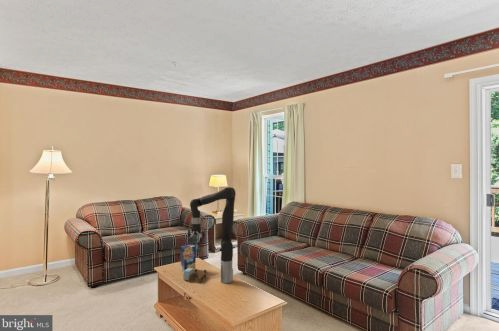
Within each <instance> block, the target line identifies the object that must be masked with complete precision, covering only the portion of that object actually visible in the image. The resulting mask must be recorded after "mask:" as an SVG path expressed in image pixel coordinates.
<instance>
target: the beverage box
mask: <svg viewBox="0 0 499 331" xmlns="http://www.w3.org/2000/svg"><path fill="white" fill-rule="evenodd" d="M196 250H197V248H196V245H194V244H187V245H182V246H180V272H181V273H183V274H184V270H186V269H187V268H194V272H195V269H196V259H197V258H196V253H197V252H196Z"/></svg>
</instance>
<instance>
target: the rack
mask: <svg viewBox="0 0 499 331" xmlns="http://www.w3.org/2000/svg"><path fill="white" fill-rule="evenodd" d="M196 276H198V268H195V271H194V273H193V274H192V275H191V276H189V280H188V283H191V282H192V281H194V280H195V279H194V278H195V277H196ZM206 278H207V269H204V270H203V273H202V274H201V275H200V276H198V277H197V284H201V282H203V281H204V280H205V279H206ZM193 279H194V280H193Z"/></svg>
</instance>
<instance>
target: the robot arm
mask: <svg viewBox="0 0 499 331" xmlns="http://www.w3.org/2000/svg"><path fill="white" fill-rule="evenodd" d="M221 200H225V205H224V209H223V212H222V215H221V228H222V230H221V232H222V234H221V242H220V248H221V249H220V251H221V252H220V254H221V255H220V283H221V284H231V283H233V281H234V268H233V257H234V254H233V253H234V246H233V242H232V231H233V227H234V220H235V219H234V216H235V215H234V214H235V200H236V190H235V188H233V187H231V186H229V187H225V188H223V189H221V190H219V191H216V192H214V193H210V194H207V195H204V196H202V197H198V198H194V199H191V200H190V203H189V207H190V212H191V228H189V229H188V230H187V237H189V241H190V243H193V240H194V239H193V238H194V237H193V236H199V237H200V238H199V241H200V243H203V238H205V237H206V234H205V229H202V226H201V225H202V224H201V222H202V221H201V210H199V208H200V207H202V206H206V205H209V204H212V203H214V202H217V201H221Z"/></svg>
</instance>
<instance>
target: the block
mask: <svg viewBox="0 0 499 331" xmlns="http://www.w3.org/2000/svg"><path fill="white" fill-rule="evenodd" d="M194 272H195V271H194V268H187V269H186V270H184V273H183V278H184V279H183V281H189V276H191V275H192V274H193V273H194Z"/></svg>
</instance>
